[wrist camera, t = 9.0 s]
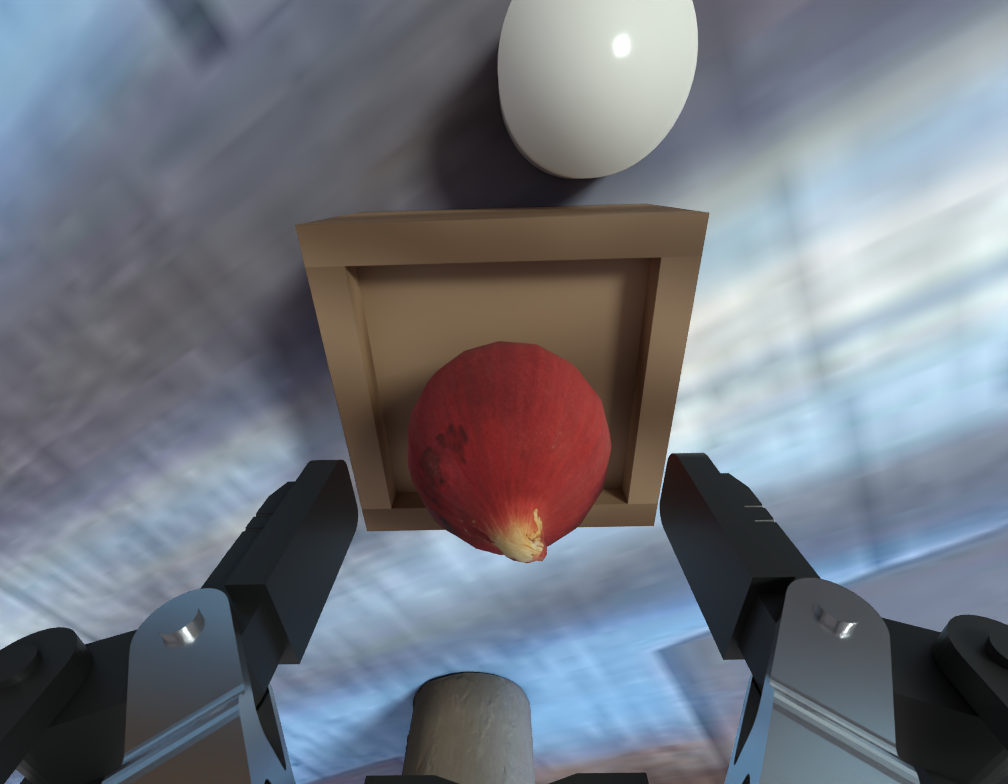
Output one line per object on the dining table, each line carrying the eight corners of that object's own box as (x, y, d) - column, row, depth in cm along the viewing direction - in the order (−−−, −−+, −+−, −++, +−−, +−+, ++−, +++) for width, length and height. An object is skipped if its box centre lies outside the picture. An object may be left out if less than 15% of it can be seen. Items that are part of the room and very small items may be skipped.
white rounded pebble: (496, -14, 14) (494, -67, 11) (670, -19, 14) (716, -76, 11) (501, 181, 17) (500, 180, 14) (647, 176, 17) (680, 175, 14)
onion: (461, 467, 17) (433, 668, 10) (403, 341, 15) (310, 487, 8) (599, 429, 16) (675, 616, 9) (561, 289, 14) (624, 396, 7)
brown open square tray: (359, 212, 18) (295, 225, 12) (646, 203, 17) (709, 212, 12) (399, 449, 23) (367, 531, 18) (618, 444, 23) (653, 525, 17)
